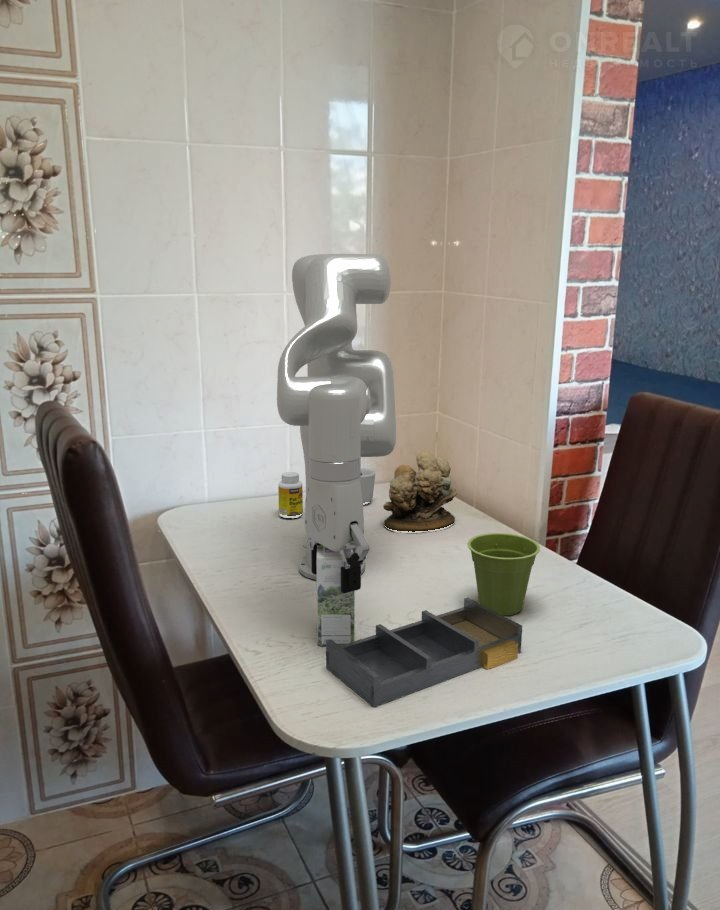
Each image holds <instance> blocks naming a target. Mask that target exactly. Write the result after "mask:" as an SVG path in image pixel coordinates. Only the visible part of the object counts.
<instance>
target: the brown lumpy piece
mask: <svg viewBox="0 0 720 910" xmlns="http://www.w3.org/2000/svg"><path fill="white" fill-rule="evenodd" d="M416 464H417V468H418V471H415V469H414V468H413V467H411V466H410V465H407V464H401V465H399V466H397V467H396V468H395V470H394V474H393V475H394V477H393V478H392V479H391V480H390V482H389V489H388V497H389V500H390V501H385V503H384V504H383V509H384V510H385V511H386V512H391V514H390V515H389V516H388V517H387V518H386V519H384V522H383V526H384V525H385V526H386V527H387V528H389V529H392V530H397V531H408V532H409V531H412V532H415V531H428V530H435V529H440V528H444V527H447V526H449V525H451V524H453V523H454V522H455V521H456V518H455V516H454V515H453V514H452V513H451V512H450V511H448V510H447V509H445V508H444V505H446V504H448V503H450V502H452V501H453V500H454V498H455V497H456V496H457V495H458V493H457V491H456V488H455V487H451V485H452V478H451V477H450V474H451V471H452V470H451V466H450V465H449V464H450V463H449V462H448V460H447V459H445V458H444V457H439V456H438V457H436V456H434V454H433V453H431V452H426V451H421V452H419V453H418V454H417V455H416ZM454 524H455V523H454ZM454 524H453V525H454Z"/></svg>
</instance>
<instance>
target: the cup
mask: <svg viewBox="0 0 720 910" xmlns="http://www.w3.org/2000/svg"><path fill="white" fill-rule="evenodd" d="M375 481H376V471H374V469H370V468H367V467H366V468H364V467H361V479H360V480H359V482H360V486H361V492H362V501H363V503H365V502H370V501H371V500H372V501H373V496H374V489H375ZM372 501H371V502H372Z"/></svg>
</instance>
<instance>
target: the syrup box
mask: <svg viewBox="0 0 720 910" xmlns="http://www.w3.org/2000/svg"><path fill="white" fill-rule="evenodd" d="M346 546H347V545H346ZM347 554H348V557H349V558H350V556H351V555H352V554H353V550H348V551H347ZM316 564H317V580H316V619H317V622H316V623H317V625H316V628H317V631H316V633H317V646H321V647H323V646H325V647H326V640H330V639H331V640H333V641H334V642H335V643H337V644H338V645H339V646H341V645H344V644H348V643H351V642H354V641H355V624H356V623H355V610H356V609H355V605H356V604H355V599H356V598H355V597H356V596H355V592H356V591H352V592H348V593H342V592H341V567H344V566H343V562H342V559H341V555H340V552H339V551H338V552H334V551H332V550H330V549H328V548H326V547H325V546H323V545H317V560H316Z"/></svg>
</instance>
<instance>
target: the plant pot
mask: <svg viewBox="0 0 720 910" xmlns="http://www.w3.org/2000/svg"><path fill="white" fill-rule="evenodd" d="M467 548H468V549H469V550H470V553H471V560H472V562H473V566H474V567H473V568H474V573H475V575H474V576H475V582H476V589H477V597H478V603H480V604H482V605H484V606H485V607H487V608H489V609H491V610H493V611H495V612H497V613H499V614H501V615H503V616H506V617H507V616H513V615H516V614H517V613H518V612H521V611H522V610H523V608H524V602H525V598H526V594H527V591H528V586H529V580H530V577H531V573H532V569H533V566H534V564H535V561H536V557H537V555H538V554H539V553H540V552H541V547H540V544H539V543H538V542H537V541H535V540H533V539H532V538H529V537H527V536H524V535H523V536H522V535H518V534H514V533H509V532H508V533H506V532H490V533H482V534H479V535H476V536H473V537H471V538H470V539H468V541H467Z"/></svg>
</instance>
